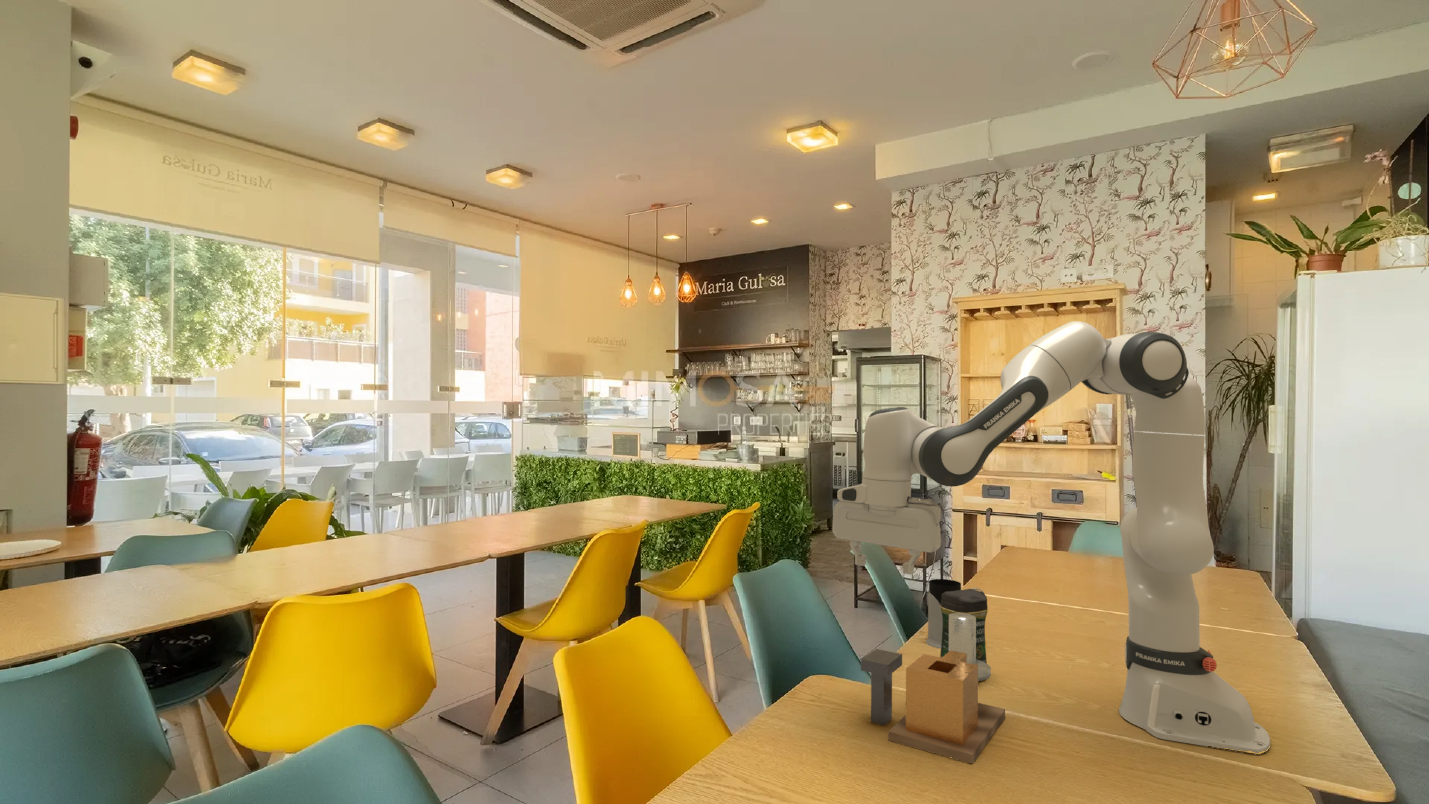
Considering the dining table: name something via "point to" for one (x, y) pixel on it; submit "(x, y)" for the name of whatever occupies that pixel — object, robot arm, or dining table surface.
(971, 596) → the coffee jar
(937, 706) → the wooden slotted box
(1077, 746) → the dining table surface
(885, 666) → the grey t-shaped block
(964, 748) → the walnut base board
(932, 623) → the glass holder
